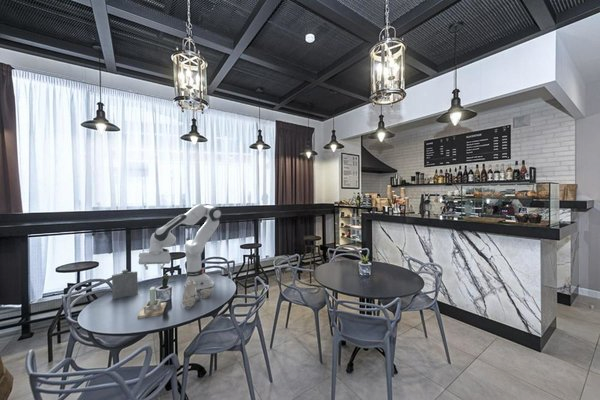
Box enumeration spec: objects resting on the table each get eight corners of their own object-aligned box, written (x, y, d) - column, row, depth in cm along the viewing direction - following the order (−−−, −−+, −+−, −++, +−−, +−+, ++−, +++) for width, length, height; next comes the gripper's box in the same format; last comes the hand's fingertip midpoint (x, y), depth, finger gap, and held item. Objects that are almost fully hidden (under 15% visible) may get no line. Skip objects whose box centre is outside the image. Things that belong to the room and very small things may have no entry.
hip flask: (112, 299, 182) (111, 272, 181) (113, 297, 185) (112, 271, 185) (137, 294, 190) (137, 269, 190) (138, 292, 194) (137, 267, 193)
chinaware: (190, 314, 162) (192, 290, 161) (169, 309, 165) (171, 285, 164) (214, 296, 189) (216, 275, 188) (195, 292, 193) (197, 272, 192)
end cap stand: (166, 304, 173) (166, 296, 173) (162, 314, 158) (162, 306, 158) (143, 307, 168) (143, 299, 168) (137, 318, 153) (137, 310, 153)
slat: (155, 306, 166) (155, 286, 165) (154, 310, 161) (153, 289, 161) (151, 307, 165) (151, 287, 164) (149, 310, 160) (149, 289, 160)
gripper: (139, 249, 174) (137, 267, 166) (171, 249, 185) (170, 266, 177) (138, 254, 178) (136, 271, 170) (170, 253, 189) (169, 270, 181)
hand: (154, 269), depth 174 cm, fingers open, 8 cm apart
